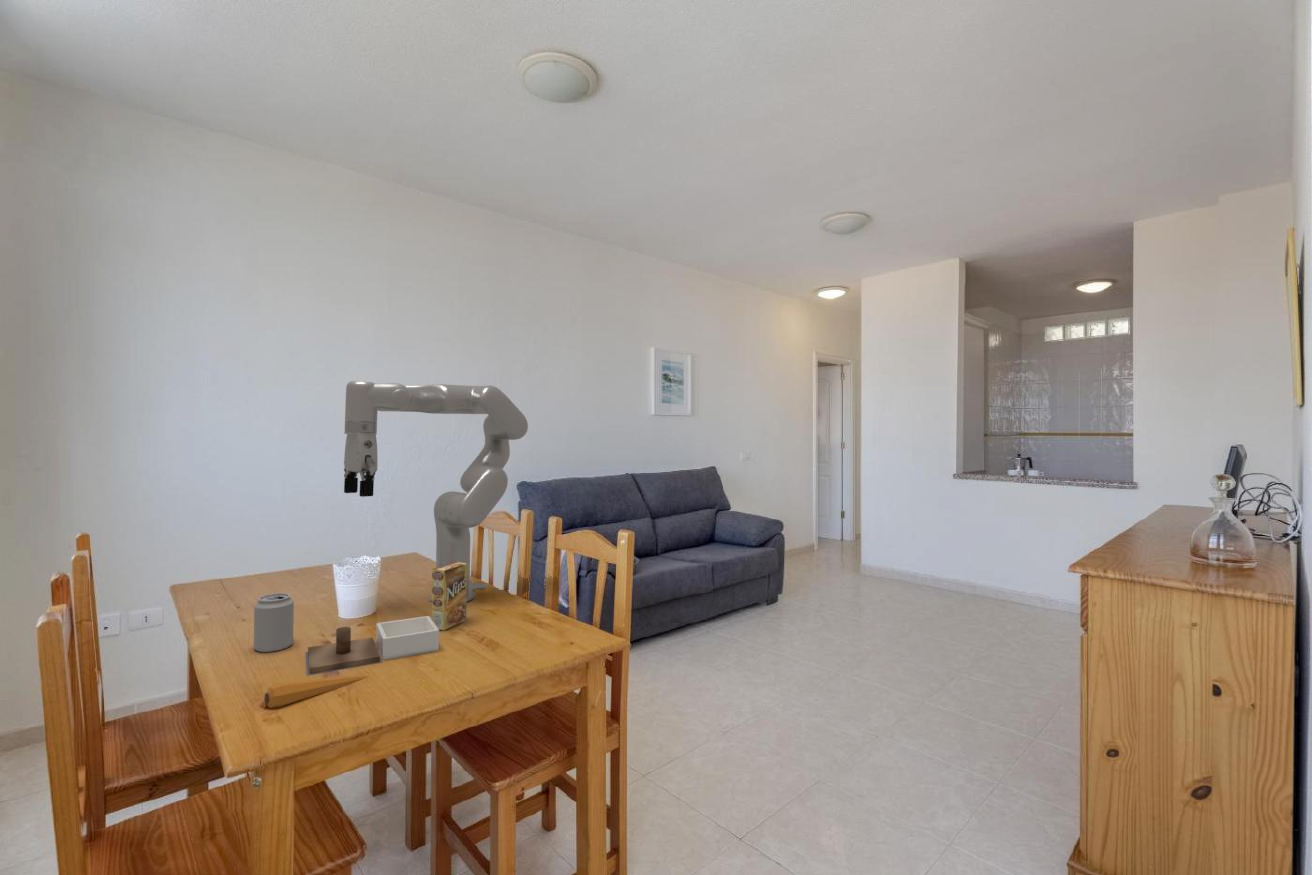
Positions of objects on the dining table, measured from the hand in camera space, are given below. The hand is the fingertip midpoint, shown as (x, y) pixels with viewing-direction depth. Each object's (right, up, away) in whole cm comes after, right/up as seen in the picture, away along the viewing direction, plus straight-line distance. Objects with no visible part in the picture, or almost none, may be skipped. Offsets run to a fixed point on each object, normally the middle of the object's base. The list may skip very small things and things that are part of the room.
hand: (358, 494), depth 154 cm
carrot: (+14, -34, -41) cm, 55 cm away
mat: (+9, -34, -25) cm, 43 cm away
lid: (+9, -33, -25) cm, 43 cm away
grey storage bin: (+20, -34, -18) cm, 43 cm away
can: (-9, -33, -20) cm, 40 cm away
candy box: (+24, -34, -2) cm, 41 cm away
